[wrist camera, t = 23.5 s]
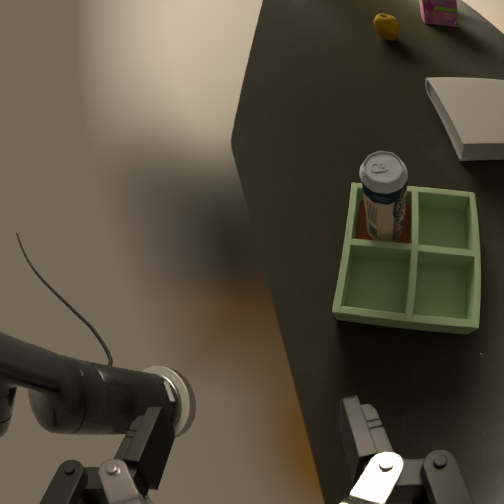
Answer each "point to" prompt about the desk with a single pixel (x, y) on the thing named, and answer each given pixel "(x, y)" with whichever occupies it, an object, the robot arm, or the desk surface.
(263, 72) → the desk surface
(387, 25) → the apple
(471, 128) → the book
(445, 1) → the box
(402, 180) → the beer can
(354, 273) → the compartment tray
